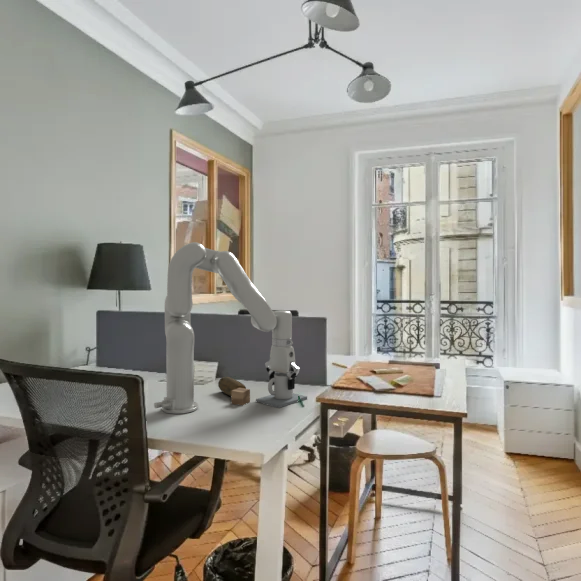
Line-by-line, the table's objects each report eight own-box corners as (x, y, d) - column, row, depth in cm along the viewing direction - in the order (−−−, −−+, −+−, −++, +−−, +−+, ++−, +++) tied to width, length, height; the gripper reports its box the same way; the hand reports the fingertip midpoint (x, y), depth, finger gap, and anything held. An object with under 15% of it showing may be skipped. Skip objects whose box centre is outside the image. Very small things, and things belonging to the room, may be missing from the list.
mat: (278, 407, 166) (278, 405, 166) (255, 401, 174) (255, 399, 174) (307, 399, 178) (307, 396, 178) (284, 393, 186) (284, 391, 186)
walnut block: (242, 405, 169) (242, 392, 169) (231, 403, 171) (231, 390, 171) (250, 402, 173) (250, 389, 173) (238, 400, 176) (238, 387, 175)
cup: (295, 398, 175) (296, 375, 174) (271, 401, 171) (271, 377, 170) (288, 394, 181) (288, 371, 181) (264, 396, 177) (264, 373, 177)
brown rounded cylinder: (214, 393, 187) (214, 376, 187) (229, 390, 191) (229, 374, 191) (234, 401, 175) (234, 383, 175) (249, 398, 180) (249, 381, 180)
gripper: (305, 344, 172) (305, 389, 173) (272, 339, 184) (272, 381, 184) (292, 346, 167) (292, 392, 167) (259, 341, 178) (259, 385, 179)
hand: (281, 387), depth 176 cm, fingers open, 9 cm apart
